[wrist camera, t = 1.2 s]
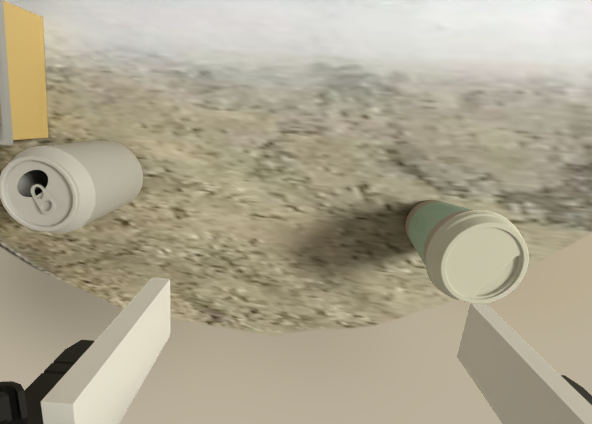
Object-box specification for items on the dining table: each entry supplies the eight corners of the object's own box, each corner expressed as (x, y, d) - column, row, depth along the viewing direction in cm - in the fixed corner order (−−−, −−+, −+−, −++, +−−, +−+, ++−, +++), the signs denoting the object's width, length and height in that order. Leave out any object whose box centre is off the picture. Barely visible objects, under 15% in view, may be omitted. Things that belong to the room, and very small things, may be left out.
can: (115, 125, 37) (35, 127, 26) (160, 181, 39) (103, 207, 27) (65, 164, 38) (-34, 182, 27) (110, 217, 40) (35, 256, 28)
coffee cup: (402, 265, 42) (444, 321, 30) (386, 200, 40) (424, 233, 28) (471, 245, 41) (541, 294, 30) (458, 178, 39) (528, 202, 27)
